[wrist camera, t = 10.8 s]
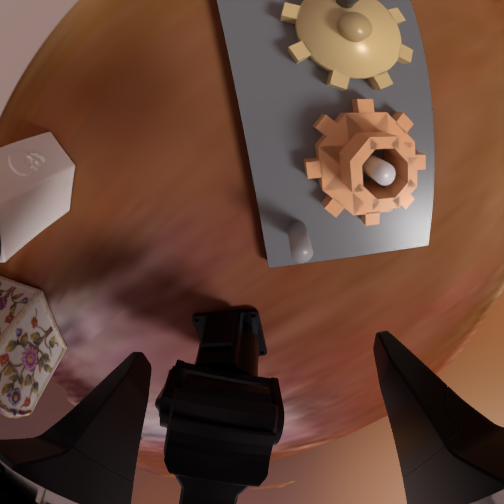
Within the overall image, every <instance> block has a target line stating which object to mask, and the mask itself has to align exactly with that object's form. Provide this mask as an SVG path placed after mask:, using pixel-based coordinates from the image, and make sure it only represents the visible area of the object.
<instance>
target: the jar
mask: <svg viewBox="0 0 504 504" xmlns="http://www.w3.org/2000/svg"><path fill="white" fill-rule="evenodd" d="M74 172H75V164H74V163H73V162H72V160H71V159H70V158H69V156H68V155H67V154H66V152H65V151H64V150H63V148H62V147H61V146H60V144H59V143H58V141H57V140H56V139H55V137H54V136H53V134H52V133H51V132H46V133H42V134H39V135H36V136H32V137H29V138H26V139H23V140H20V141H17V142H14V143H11V144H8V145H5V146H3V147H0V263H4V262H6V261H7V260H8V259H9V258H11V257H12V256H13V255H14V254H15V253H16V252H17V251H19V250H20V249H21V248H22V247H23V246H24V245H26V244H27V243H28V242H29V241H30V240H32V239H33V238H34V237H35V236H37V235H38V234H39V233H40V232H42V231H43V230H44V229H46V228H47V227H48V226H49V225H51V224H52V223H53V222H55V221H56V220H57V219H59V218H60V217H62V216H63V215H64V214H66V213H67V212H69V210H70V203H71V194H72V185H73V178H74Z"/></svg>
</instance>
